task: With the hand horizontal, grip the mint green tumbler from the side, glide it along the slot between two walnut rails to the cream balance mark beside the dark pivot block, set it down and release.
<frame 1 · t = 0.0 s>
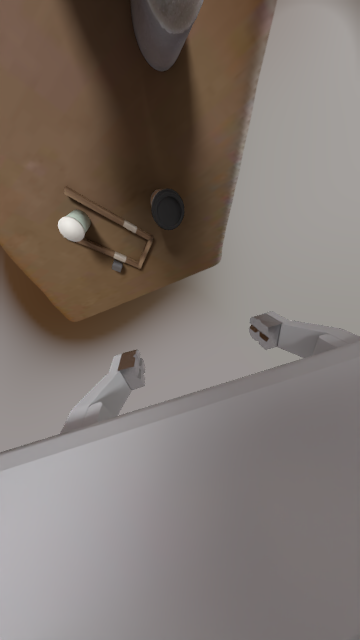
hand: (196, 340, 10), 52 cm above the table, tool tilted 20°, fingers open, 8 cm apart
beam slot: (111, 234, 48), on the table
mint green tumbler: (80, 219, 43), on the table
coffee cup: (160, 202, 45), on the table
pillar candle: (158, 23, 27), on the table
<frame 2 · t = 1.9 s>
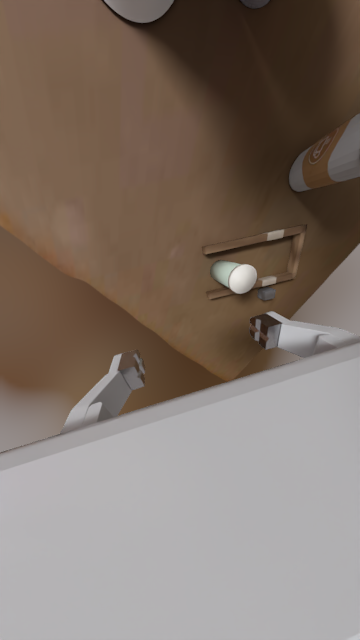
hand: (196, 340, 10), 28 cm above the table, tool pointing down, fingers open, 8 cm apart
beam slot: (250, 263, 37), on the table
mint green tumbler: (219, 270, 37), on the table
coffee cup: (300, 173, 30), on the table
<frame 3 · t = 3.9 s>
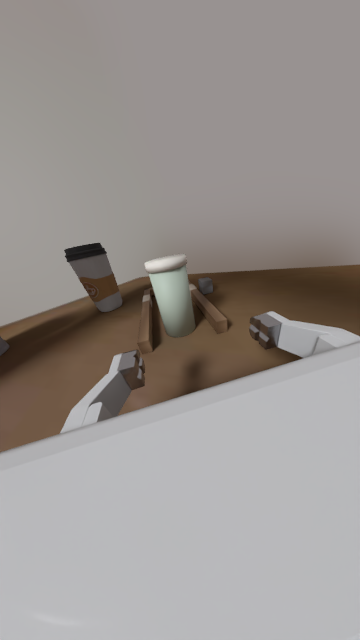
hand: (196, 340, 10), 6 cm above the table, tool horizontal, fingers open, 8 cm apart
beam slot: (173, 307, 31), on the table
mint green tumbler: (180, 327, 24), on the table
coffee cup: (111, 307, 39), on the table
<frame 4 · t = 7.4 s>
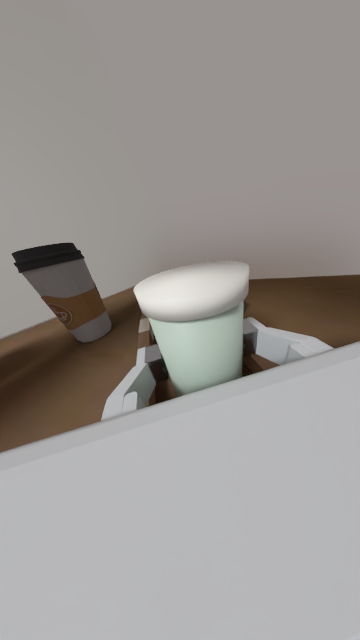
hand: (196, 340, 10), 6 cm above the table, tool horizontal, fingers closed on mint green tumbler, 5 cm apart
beam slot: (187, 342, 20), on the table
mint green tumbler: (209, 400, 12), on the table, touching gripper
coffee cup: (96, 333, 28), on the table
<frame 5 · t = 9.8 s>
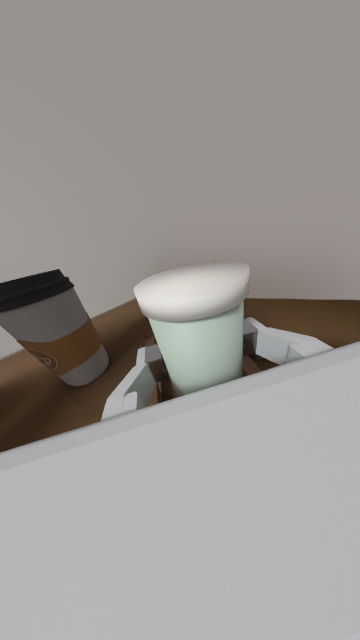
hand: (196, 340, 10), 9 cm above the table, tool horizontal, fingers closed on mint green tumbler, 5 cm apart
beam slot: (206, 402, 15), on the table
mint green tumbler: (209, 401, 12), point 3 cm above the table, touching gripper
coffee cup: (90, 371, 23), on the table
when the fingers open (7 cm above the table, at t = 12.2 s): mint green tumbler stays where it is, on the table.
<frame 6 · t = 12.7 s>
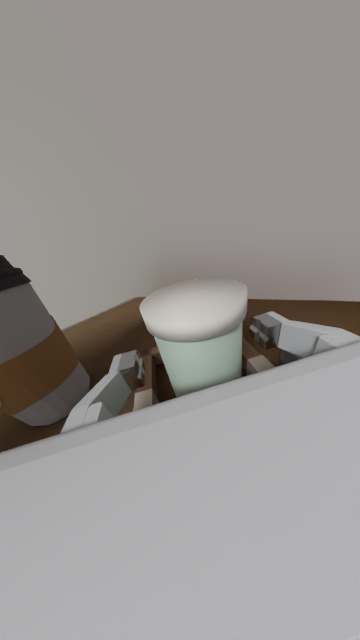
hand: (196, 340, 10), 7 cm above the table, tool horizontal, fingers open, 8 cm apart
beam slot: (237, 478, 9), on the table
mint green tumbler: (210, 407, 13), on the table
coffee cup: (64, 398, 17), on the table
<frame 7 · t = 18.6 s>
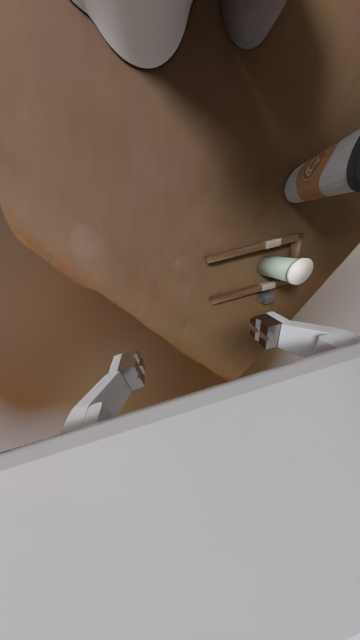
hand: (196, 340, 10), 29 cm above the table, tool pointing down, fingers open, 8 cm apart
beam slot: (250, 269, 39), on the table
mint green tumbler: (265, 265, 40), on the table
coffee cup: (295, 186, 32), on the table
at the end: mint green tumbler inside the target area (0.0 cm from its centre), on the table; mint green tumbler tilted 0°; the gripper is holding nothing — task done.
